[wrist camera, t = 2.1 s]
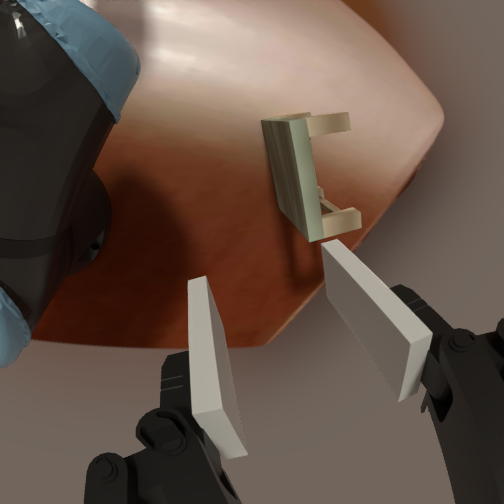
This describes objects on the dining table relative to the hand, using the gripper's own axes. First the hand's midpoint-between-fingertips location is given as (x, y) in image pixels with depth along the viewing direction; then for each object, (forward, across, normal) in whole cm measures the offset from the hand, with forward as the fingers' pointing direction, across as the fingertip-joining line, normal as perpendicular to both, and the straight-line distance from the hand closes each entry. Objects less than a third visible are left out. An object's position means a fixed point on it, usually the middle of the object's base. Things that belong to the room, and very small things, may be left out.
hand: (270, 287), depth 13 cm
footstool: (+25, +9, 0) cm, 26 cm away
